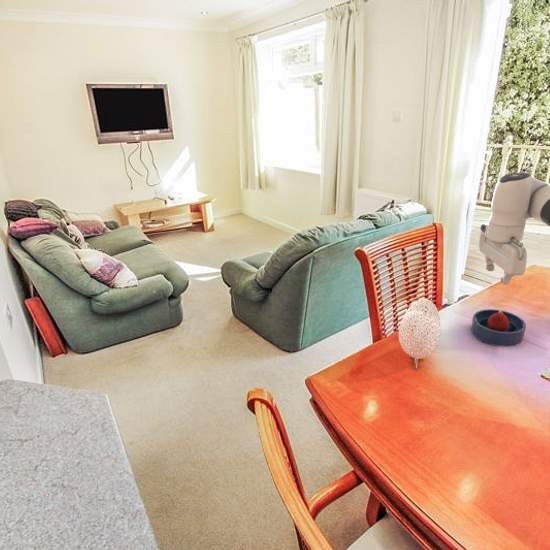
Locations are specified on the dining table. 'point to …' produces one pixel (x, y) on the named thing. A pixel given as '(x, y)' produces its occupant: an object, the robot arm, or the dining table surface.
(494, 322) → the onion
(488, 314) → the bowl
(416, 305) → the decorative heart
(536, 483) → the dining table surface
